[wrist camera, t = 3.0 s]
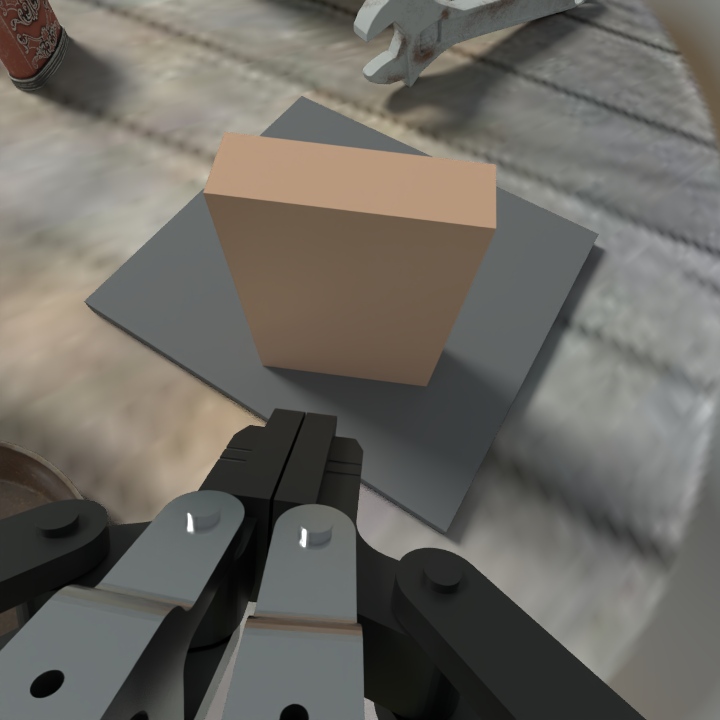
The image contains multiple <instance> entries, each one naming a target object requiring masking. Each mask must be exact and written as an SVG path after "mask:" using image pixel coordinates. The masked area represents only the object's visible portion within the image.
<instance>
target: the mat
mask: <svg viewBox="0 0 720 720" xmlns="http://www.w3.org/2000/svg"><path fill="white" fill-rule="evenodd" d="M260 136H262V137H270V138H279V139H287V140H295V141H303V142H312V143H320V144H328V145H337V146H345V147H353V148H361V149H370V150H378V151H386V152H395V153H403V154H411V155H420V156H428V157H432V156H429V155H427V154H425V153H423V152H421V151H419V150H417V149H414V148H412V147H410V146H408V145H406V144H404V143H402V142H399V141H397V140H395V139H393V138H391V137H389V136H386V135H384V134H382V133H380V132H378V131H376V130H374V129H371V128H369V127H367V126H365V125H363V124H361V123H359V122H356V121H354V120H352V119H350V118H348V117H346V116H344V115H341V114H339V113H337V112H335V111H333V110H331V109H328V108H326V107H324V106H322V105H320V104H318V103H316V102H313V101H311V100H309V99H307V98H305V97H303V96H301V97H300V98H299V99H298V100H297V101H296V102H295V103H294V104H293V105H292V106H291V107H290V108H289V109H287V110H286V111H285V112H284V113H283V114H282V115H281V116H280V117H279V118H278V119H277V120H276V121H275V122H274V123H273V124H272V125H271V126H269V127H268V128H267V129H266V130H265V131H264V132H263V133H262V134H261V135H260ZM204 189H205V188H204ZM204 189H203V190H202V191H201V192H200V193H199V194H197V195H196V196H195V197H194V198H193V199H192V200H191V201H190V202H189V203H188V204H187V205H186V206H185V207H184V208H183V209H182V210H181V211H179V212H178V213H177V214H176V215H175V216H174V217H173V218H172V219H171V220H170V221H169V222H168V223H167V224H166V225H165V226H164V227H163V228H161V229H160V230H159V231H158V232H157V233H156V234H155V235H154V236H153V237H152V238H151V239H150V240H149V241H148V242H147V243H146V244H145V245H143V246H142V247H141V248H140V249H139V250H138V251H137V252H136V253H135V254H134V255H133V256H132V257H131V258H130V259H129V260H128V261H127V262H125V263H124V264H123V265H122V266H121V267H120V268H119V269H118V270H117V271H116V272H115V273H114V274H113V275H112V276H111V277H110V278H108V279H107V280H106V281H105V282H104V283H103V284H102V285H101V286H100V287H99V288H98V289H97V290H96V291H95V292H94V293H93V294H92V295H90V296H89V297H88V298H87V299H86V300H85V301H84V302H85V303H86V304H87V305H88V307H89V308H90V309H91V310H93V311H94V312H96V313H97V314H99V315H100V316H102V317H103V318H105V319H107V320H108V321H110V322H111V323H113V324H114V325H116V326H118V327H119V328H121V329H122V330H124V331H125V332H127V333H128V334H130V335H132V336H133V337H135V338H136V339H138V340H139V341H141V342H143V343H144V344H146V345H147V346H149V347H150V348H152V349H154V350H155V351H157V352H158V353H160V354H161V355H163V356H164V357H166V358H168V359H169V360H171V361H172V362H174V363H175V364H177V365H179V366H180V367H182V368H183V369H185V370H186V371H188V372H189V373H191V374H193V375H194V376H196V377H197V378H199V379H200V380H202V381H204V382H205V383H207V384H208V385H210V386H211V387H213V388H215V389H216V390H218V391H219V392H221V393H222V394H224V395H225V396H227V397H229V398H230V399H232V400H233V401H235V402H236V403H238V404H240V405H241V406H243V407H244V408H246V409H247V410H249V411H250V412H252V413H254V414H255V415H257V416H258V417H260V418H261V419H263V420H265V421H266V422H268V420H269V418H270V416H271V414H272V413H273V411H274V409H275V408H279V409H286V410H294V411H302V412H306V414H307V412H310V413H318V414H326V415H333V416H337V427H336V436H338V437H346V438H353V439H356V440H357V441H358V443H359V445H360V446H361V448H362V449H363V451H364V452H363V461H362V471H361V481H360V482H362V483H363V484H365V485H366V486H368V487H369V488H371V489H372V490H374V491H376V492H377V493H379V494H380V495H382V496H383V497H385V498H387V499H388V500H390V501H391V502H393V503H394V504H396V505H398V506H399V507H401V508H402V509H404V510H405V511H407V512H408V513H410V514H412V515H413V516H415V517H416V518H418V519H419V520H421V521H423V522H424V523H426V524H427V525H429V526H430V527H432V528H433V529H435V530H437V531H438V532H440V533H441V534H444V533H446V532H447V530H448V528H449V526H450V524H451V522H452V520H453V518H454V516H455V514H456V512H457V510H458V508H459V506H460V504H461V502H462V500H463V498H464V496H465V495H466V493H467V491H468V489H469V487H470V485H471V483H472V481H473V479H474V477H475V475H476V473H477V471H478V469H479V467H480V465H481V463H482V461H483V459H484V457H485V455H486V453H487V452H488V450H489V448H490V446H491V444H492V442H493V440H494V438H495V436H496V434H497V432H498V430H499V428H500V426H501V424H502V422H503V420H504V418H505V416H506V414H507V412H508V410H509V409H510V407H511V405H512V403H513V401H514V399H515V397H516V395H517V393H518V391H519V389H520V387H521V385H522V383H523V381H524V379H525V377H526V375H527V373H528V371H529V369H530V367H531V366H532V364H533V362H534V360H535V358H536V356H537V354H538V352H539V350H540V348H541V346H542V344H543V342H544V340H545V338H546V336H547V334H548V332H549V330H550V328H551V326H552V324H553V322H554V321H555V319H556V317H557V315H558V313H559V311H560V309H561V307H562V305H563V303H564V301H565V299H566V297H567V295H568V293H569V291H570V289H571V287H572V285H573V283H574V281H575V279H576V278H577V276H578V274H579V272H580V270H581V268H582V266H583V264H584V262H585V260H586V258H587V256H588V254H589V252H590V250H591V248H592V246H593V244H594V242H595V240H596V238H597V236H598V235H599V234H597V233H595V232H593V231H591V230H589V229H586V228H584V227H582V226H580V225H578V224H576V223H573V222H571V221H569V220H567V219H565V218H563V217H561V216H558V215H556V214H554V213H552V212H550V211H548V210H546V209H543V208H541V207H539V206H537V205H535V204H533V203H530V202H528V201H526V200H524V199H522V198H520V197H518V196H515V195H513V194H511V193H509V192H507V191H505V190H503V189H500V188H498V187H496V230H495V233H494V235H493V237H492V239H491V242H490V244H489V246H488V248H487V251H486V253H485V255H484V258H483V260H482V262H481V264H480V267H479V269H478V271H477V273H476V276H475V278H474V280H473V283H472V285H471V287H470V289H469V292H468V294H467V296H466V298H465V301H464V303H463V305H462V307H461V310H460V312H459V314H458V317H457V319H456V321H455V323H454V326H453V328H452V330H451V332H450V335H449V337H448V339H447V341H446V344H445V346H444V348H443V351H442V353H441V355H440V357H439V360H438V362H437V364H436V366H435V369H434V371H433V373H432V376H431V378H430V380H429V382H428V385H427V387H426V386H419V385H411V384H403V383H395V382H387V381H379V380H372V379H364V378H356V377H348V376H340V375H332V374H325V373H317V372H309V371H301V370H293V369H286V368H278V367H270V366H262V363H261V360H260V357H259V354H258V351H257V348H256V346H255V343H254V340H253V337H252V334H251V331H250V328H249V325H248V322H247V319H246V316H245V313H244V311H243V308H242V305H241V302H240V299H239V296H238V293H237V290H236V287H235V284H234V281H233V278H232V276H231V273H230V270H229V267H228V264H227V261H226V258H225V255H224V252H223V249H222V246H221V243H220V241H219V238H218V235H217V232H216V229H215V226H214V223H213V220H212V217H211V214H210V211H209V208H208V206H207V203H206V200H205V197H204V194H203V191H204Z"/></svg>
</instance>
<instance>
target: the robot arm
mask: <svg viewBox="0 0 720 720" xmlns="http://www.w3.org/2000/svg"><path fill="white" fill-rule="evenodd" d="M336 427H337V416H333V415H326V414H318V413H310V412H307V414H306V412H302V411H294V410H286V409H279V408H275V409H274V411H273V413H272V414H271V416H270V418H269V420H268V422H267V424H266V426H265V427H261V426H253V425H249V426H248V427H246V428H244V429H243V430H241V431H239V432H238V433H236V434H235V435H234V436H233V438H232V439H231V441H230V442H229V444H228V445H227V448H226V449H225V450H224V451H223V453H222V455H221V456H220V459H218V461H217V462H216V464H215V465H214V467H213V468H212V470H211V471H210V473H209V474H208V476H207V478H206V479H205V481H204V482H203V484H202V485H201V487H200V488H199V490H198V491H195V492H191V493H187V494H184V495H182V496H179V497H178V498H176V499H174V500H172V501H171V502H170V503H168V504H167V505H166V506H165V507H164V508H163V510H162V511H161V512H160V513H159V514H158V515H157V517H156V518H155V519H154V520H153V521H150V522H144V523H133V524H122V525H111V526H109V525H108V515H107V512H106V510H105V508H104V507H102V506H101V505H100V504H98V503H96V502H93V501H89V500H83V499H68V500H60V501H55V502H51V503H48V504H44V505H41V506H39V507H36V508H33V509H30V510H27V511H24V512H21V513H19V514H16V515H13V516H10V517H7V518H4V519H1V520H0V614H1V613H3V612H5V611H7V610H9V609H12V608H14V607H15V608H16V614H17V620H18V626H19V627H18V628H16V629H14V630H12V631H10V632H8V633H6V634H4V635H2V636H0V720H204V719H205V717H206V714H207V712H208V710H209V707H210V705H211V703H212V700H213V698H214V696H215V693H216V691H217V689H218V686H219V684H220V682H221V679H222V677H223V675H224V672H225V670H226V668H227V665H228V663H229V661H230V658H231V656H232V654H233V652H234V649H235V647H236V645H237V642H238V639H239V634H240V623H241V621H242V618H243V616H244V613H245V610H246V607H247V604H248V601H250V602H257V604H256V608H255V613H254V616H248V618H247V621H246V624H245V627H244V631H243V635H242V639H241V643H240V647H239V651H238V655H237V659H236V663H235V667H234V671H233V675H232V679H231V683H230V687H229V691H228V695H227V699H226V703H225V707H224V711H223V715H222V719H221V720H365V717H364V697H365V698H367V699H369V700H371V701H373V702H374V706H375V711H376V714H377V717H378V720H646V719H645V718H644V717H642V716H641V715H640V714H639V713H638V712H637V711H636V710H635V709H633V708H632V707H631V706H630V705H629V704H628V703H627V702H625V700H623V699H622V698H621V697H620V696H619V695H618V694H617V693H615V692H614V691H613V690H612V689H611V688H610V687H609V686H608V685H607V684H605V683H604V682H603V681H602V680H601V679H600V678H599V677H598V676H596V675H595V674H594V673H593V672H592V671H591V670H590V669H589V668H587V667H586V666H585V665H584V664H583V663H582V662H581V661H580V660H578V659H577V658H576V657H575V656H574V655H573V654H572V653H571V652H569V651H568V650H567V649H566V648H565V647H564V646H563V645H562V644H560V643H559V642H558V641H557V640H556V639H555V638H554V637H553V636H551V635H550V634H549V633H548V632H547V631H546V630H545V629H544V628H542V627H541V626H540V625H539V624H538V623H537V622H536V621H535V620H533V619H532V618H531V617H530V616H529V615H528V614H527V613H526V612H524V611H523V610H522V609H521V608H520V607H519V606H518V605H517V604H515V603H514V602H513V601H512V600H511V599H510V598H509V597H508V596H506V595H505V594H504V593H503V592H502V591H501V590H500V589H499V588H497V587H496V586H495V585H494V584H493V583H492V582H491V581H490V580H488V579H487V578H486V577H485V576H484V575H483V574H482V573H481V572H479V571H478V570H477V569H476V568H475V567H474V566H473V565H472V564H470V563H469V562H468V561H467V560H465V559H464V558H462V557H460V556H459V555H456V554H454V553H452V552H449V551H446V550H442V549H438V548H421V549H416V550H413V551H411V552H409V553H407V554H406V555H405V556H403V557H402V558H401V560H400V561H398V560H396V559H393V558H391V557H388V556H386V555H384V554H382V553H380V552H378V551H376V550H375V549H373V548H372V547H371V546H369V545H368V544H367V543H366V542H365V541H364V540H363V538H362V537H361V536H360V534H359V532H358V529H357V525H356V519H357V510H358V500H359V490H360V481H361V471H362V461H363V452H364V451H363V449H362V448H361V446H360V445H359V443H358V441H357V440H356V439H353V438H346V437H338V436H336Z"/></svg>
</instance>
